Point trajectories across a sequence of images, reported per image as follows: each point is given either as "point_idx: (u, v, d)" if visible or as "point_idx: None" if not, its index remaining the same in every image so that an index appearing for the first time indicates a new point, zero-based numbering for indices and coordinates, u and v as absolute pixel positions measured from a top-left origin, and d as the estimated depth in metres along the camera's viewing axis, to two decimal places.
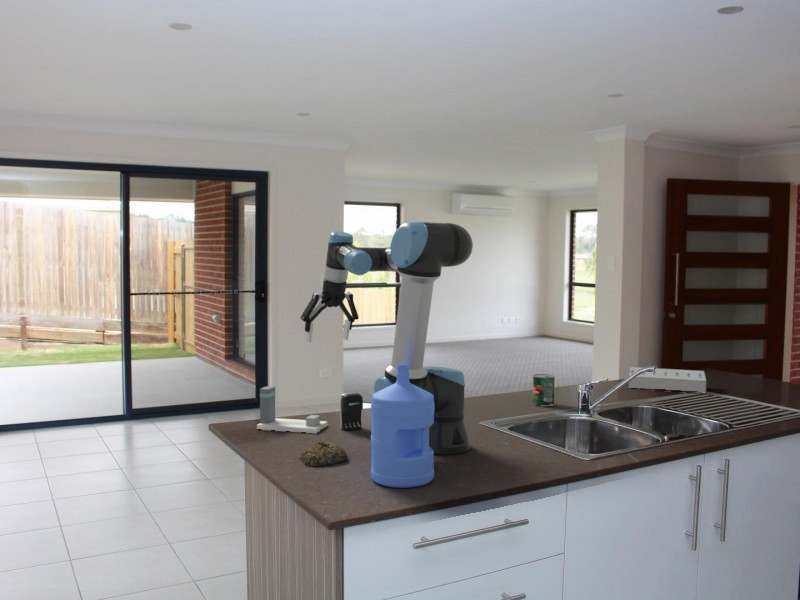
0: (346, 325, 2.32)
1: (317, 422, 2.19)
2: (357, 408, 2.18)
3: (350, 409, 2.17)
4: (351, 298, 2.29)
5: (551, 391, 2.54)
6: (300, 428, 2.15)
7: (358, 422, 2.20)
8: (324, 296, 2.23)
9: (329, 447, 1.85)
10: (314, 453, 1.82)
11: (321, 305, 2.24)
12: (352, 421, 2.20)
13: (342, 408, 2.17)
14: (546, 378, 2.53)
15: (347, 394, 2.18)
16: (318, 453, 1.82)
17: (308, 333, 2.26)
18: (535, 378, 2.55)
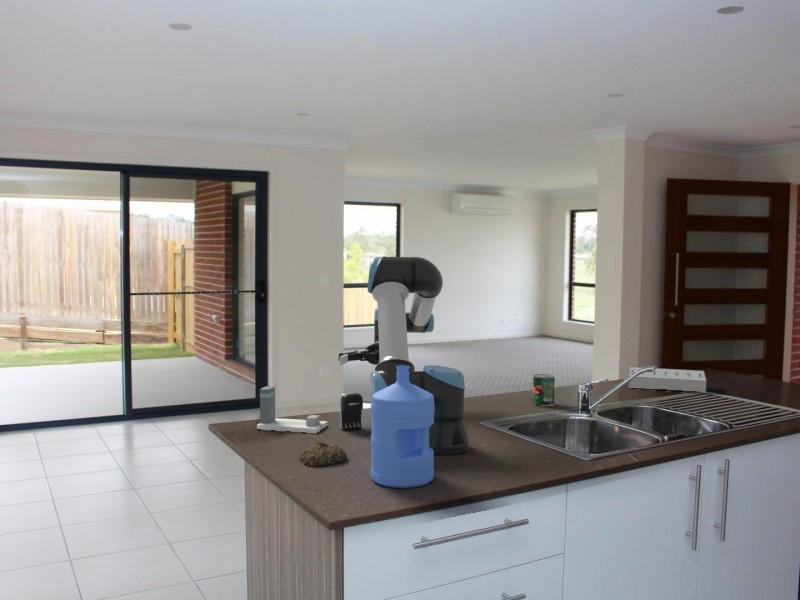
0: None
1: (317, 422, 2.19)
2: (357, 408, 2.18)
3: (350, 409, 2.17)
4: None
5: (551, 391, 2.54)
6: (300, 428, 2.15)
7: (358, 422, 2.20)
8: None
9: (328, 447, 1.85)
10: (313, 453, 1.82)
11: None
12: (352, 421, 2.20)
13: (342, 408, 2.17)
14: (546, 378, 2.53)
15: (347, 394, 2.18)
16: (318, 453, 1.82)
17: None
18: (535, 378, 2.55)
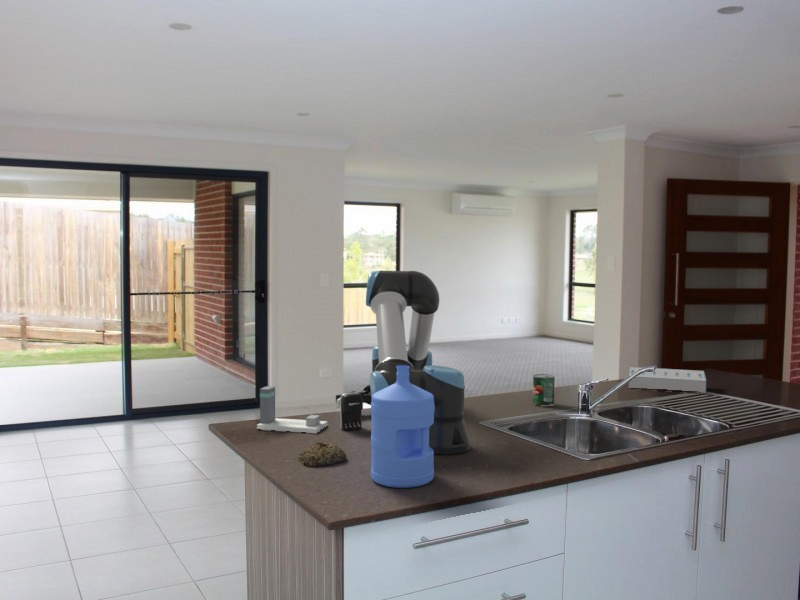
0: None
1: (317, 422, 2.19)
2: (357, 408, 2.18)
3: (350, 409, 2.17)
4: None
5: (551, 391, 2.54)
6: (300, 428, 2.15)
7: (358, 422, 2.20)
8: None
9: (328, 447, 1.85)
10: (313, 453, 1.82)
11: None
12: (352, 421, 2.20)
13: (342, 408, 2.17)
14: (546, 378, 2.53)
15: (347, 394, 2.18)
16: (317, 453, 1.82)
17: None
18: (535, 378, 2.55)
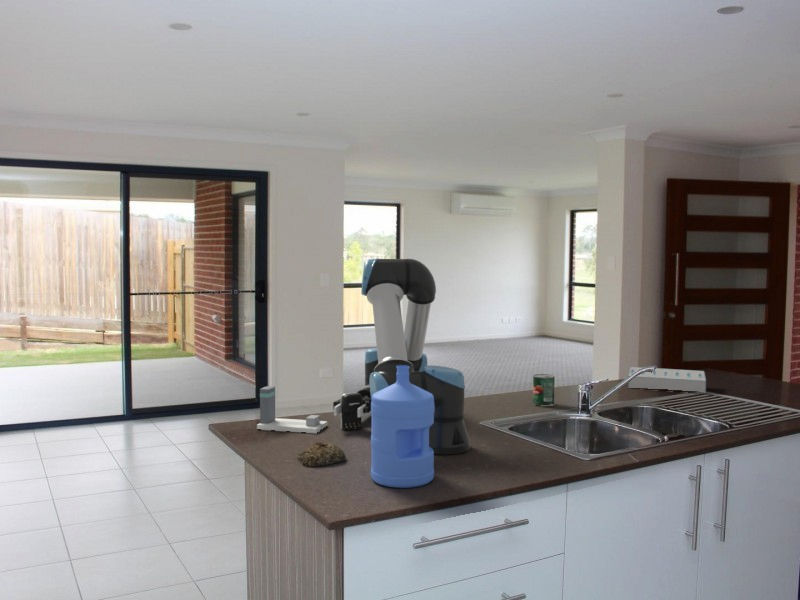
0: None
1: (317, 422, 2.19)
2: (357, 408, 2.18)
3: (350, 409, 2.17)
4: None
5: (551, 391, 2.54)
6: (300, 428, 2.15)
7: (358, 422, 2.20)
8: None
9: (327, 447, 1.84)
10: (312, 453, 1.82)
11: None
12: (352, 421, 2.20)
13: (342, 408, 2.17)
14: (546, 378, 2.53)
15: (347, 394, 2.18)
16: (316, 453, 1.82)
17: None
18: (535, 378, 2.55)
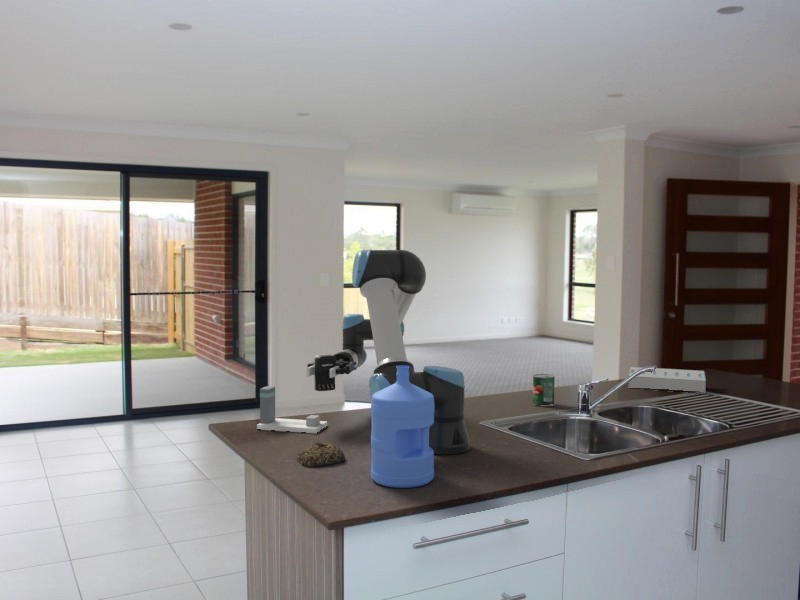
0: None
1: (317, 422, 2.19)
2: None
3: (323, 370, 2.18)
4: (353, 362, 2.29)
5: (551, 391, 2.54)
6: (300, 428, 2.15)
7: (332, 384, 2.22)
8: None
9: (326, 447, 1.84)
10: (311, 453, 1.82)
11: None
12: (326, 382, 2.21)
13: (315, 369, 2.19)
14: (546, 378, 2.53)
15: (321, 355, 2.20)
16: (316, 453, 1.82)
17: None
18: (535, 378, 2.55)
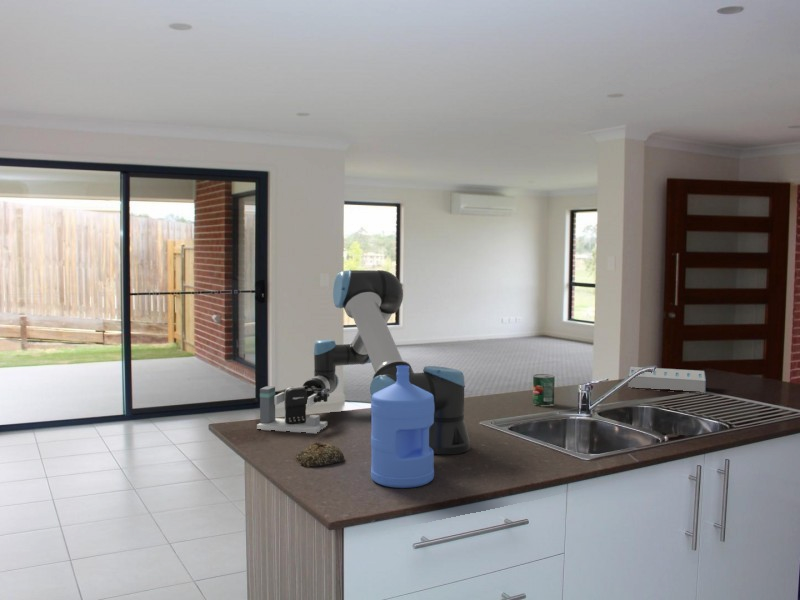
0: None
1: (317, 422, 2.19)
2: (301, 402, 2.19)
3: (294, 403, 2.18)
4: (326, 389, 2.29)
5: (551, 391, 2.54)
6: (300, 428, 2.15)
7: (302, 416, 2.22)
8: None
9: (325, 447, 1.84)
10: (310, 453, 1.82)
11: None
12: (296, 415, 2.21)
13: (286, 402, 2.18)
14: (546, 378, 2.53)
15: (291, 388, 2.19)
16: (315, 453, 1.82)
17: None
18: (535, 378, 2.55)
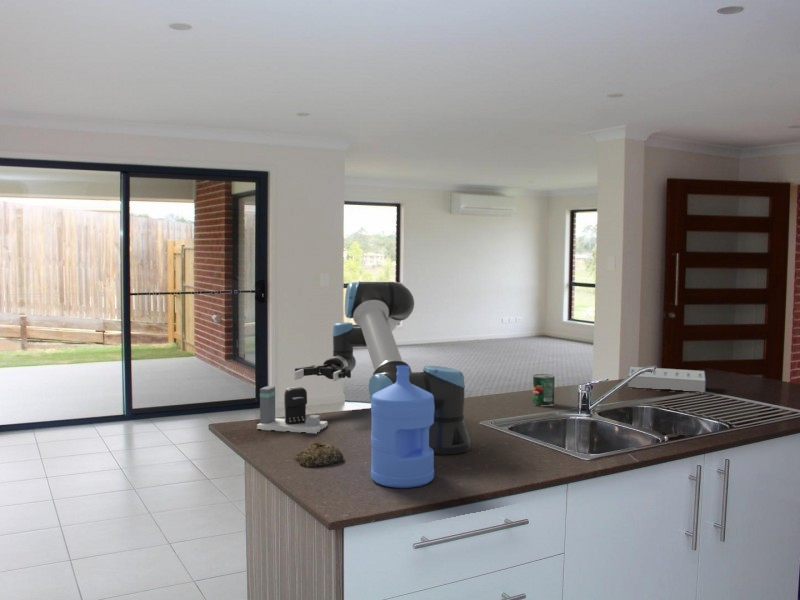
0: None
1: (317, 422, 2.19)
2: (301, 402, 2.19)
3: (294, 403, 2.18)
4: (346, 367, 2.43)
5: (551, 391, 2.54)
6: (300, 428, 2.15)
7: (302, 416, 2.22)
8: None
9: (325, 447, 1.84)
10: (309, 454, 1.82)
11: None
12: (296, 415, 2.21)
13: (286, 402, 2.18)
14: (546, 378, 2.53)
15: (291, 388, 2.19)
16: (314, 453, 1.82)
17: None
18: (535, 378, 2.55)
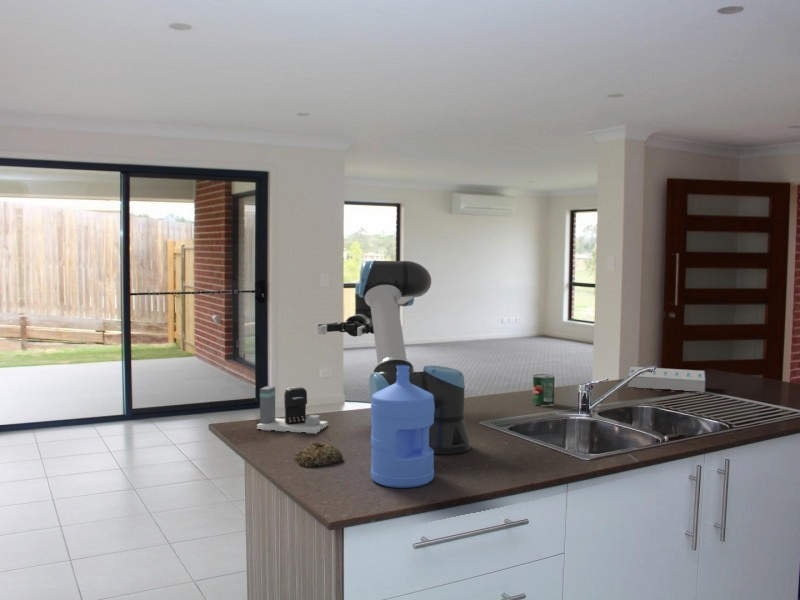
0: None
1: (317, 422, 2.19)
2: (301, 402, 2.19)
3: (294, 403, 2.18)
4: (369, 324, 2.43)
5: (551, 391, 2.54)
6: (300, 428, 2.15)
7: (302, 416, 2.22)
8: None
9: (324, 448, 1.84)
10: (309, 454, 1.82)
11: None
12: (296, 415, 2.21)
13: (286, 402, 2.18)
14: (546, 378, 2.53)
15: (291, 388, 2.19)
16: (313, 453, 1.82)
17: None
18: (535, 378, 2.55)
